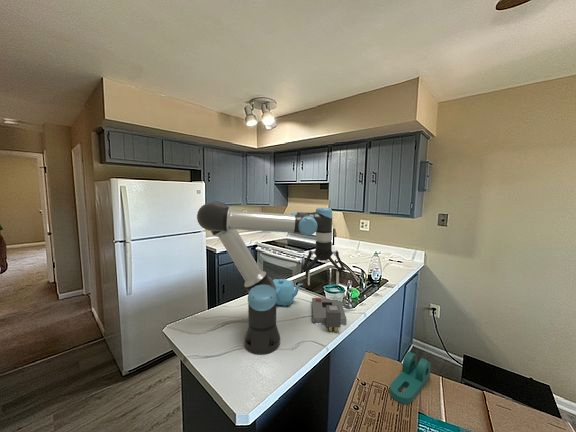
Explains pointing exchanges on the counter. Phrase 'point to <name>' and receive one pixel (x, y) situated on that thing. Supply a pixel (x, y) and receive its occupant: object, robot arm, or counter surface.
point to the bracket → (410, 379)
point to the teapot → (285, 291)
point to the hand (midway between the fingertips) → (323, 284)
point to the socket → (320, 310)
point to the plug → (333, 317)
